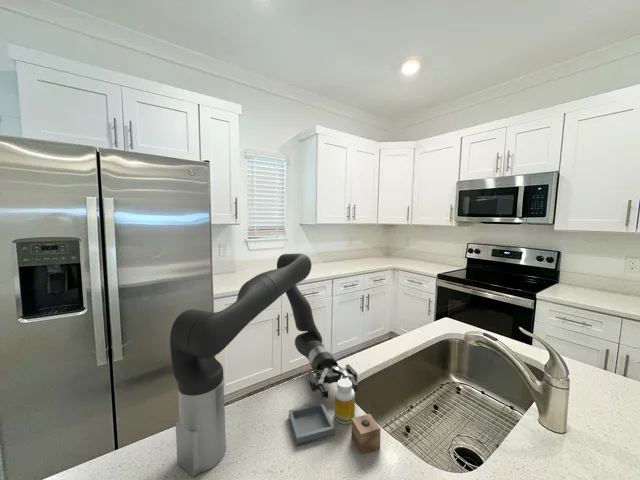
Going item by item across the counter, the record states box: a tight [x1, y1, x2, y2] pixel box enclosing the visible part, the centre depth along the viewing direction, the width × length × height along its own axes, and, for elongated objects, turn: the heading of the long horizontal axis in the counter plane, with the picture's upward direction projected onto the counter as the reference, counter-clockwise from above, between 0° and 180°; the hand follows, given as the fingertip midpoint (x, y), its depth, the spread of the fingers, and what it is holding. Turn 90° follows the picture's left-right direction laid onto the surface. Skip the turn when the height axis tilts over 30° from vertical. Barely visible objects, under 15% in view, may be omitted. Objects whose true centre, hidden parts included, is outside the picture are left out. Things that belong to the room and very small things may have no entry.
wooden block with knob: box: [350, 413, 381, 456], centre depth 64 cm, size 5×5×5 cm
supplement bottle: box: [334, 378, 356, 425], centre depth 72 cm, size 5×5×10 cm
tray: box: [288, 402, 336, 447], centre depth 69 cm, size 10×10×2 cm
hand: (341, 392), depth 74 cm, fingers open, 8 cm apart
